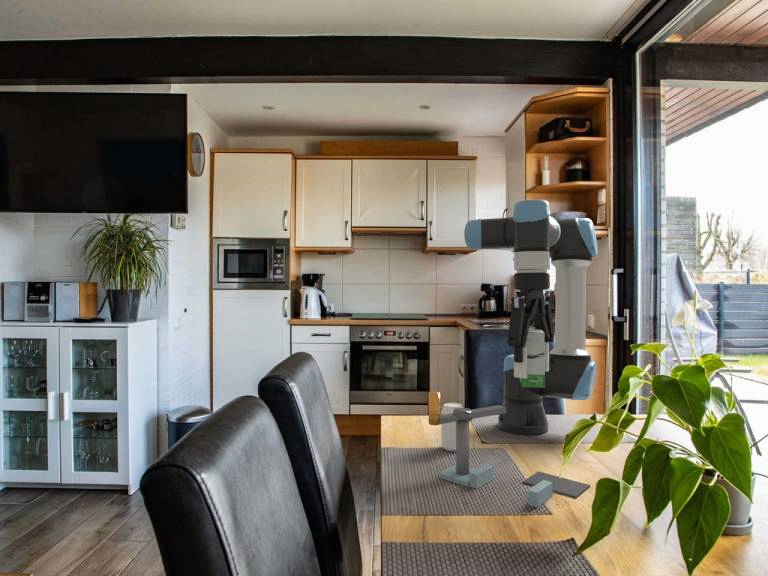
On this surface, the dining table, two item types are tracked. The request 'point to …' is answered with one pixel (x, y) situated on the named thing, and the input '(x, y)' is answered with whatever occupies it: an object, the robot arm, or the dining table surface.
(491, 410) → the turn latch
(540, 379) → the ink box
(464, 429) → the stand
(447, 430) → the beverage can
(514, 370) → the robot arm
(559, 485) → the pad
